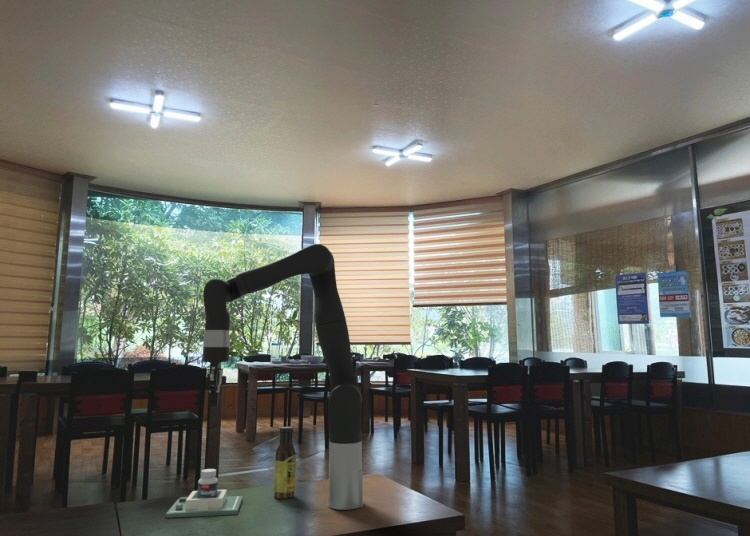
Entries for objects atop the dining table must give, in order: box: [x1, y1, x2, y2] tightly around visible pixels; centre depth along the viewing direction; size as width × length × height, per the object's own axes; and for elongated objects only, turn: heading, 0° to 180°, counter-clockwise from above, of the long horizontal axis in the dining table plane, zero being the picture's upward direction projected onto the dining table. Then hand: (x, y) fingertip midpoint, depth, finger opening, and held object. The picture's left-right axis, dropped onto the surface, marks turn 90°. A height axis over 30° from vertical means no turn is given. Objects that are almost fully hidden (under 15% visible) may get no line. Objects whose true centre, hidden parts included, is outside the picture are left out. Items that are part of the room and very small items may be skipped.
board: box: [165, 489, 244, 519], centre depth 140 cm, size 18×14×4 cm
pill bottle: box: [197, 468, 219, 498], centre depth 140 cm, size 5×5×9 cm
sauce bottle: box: [273, 426, 297, 500], centre depth 152 cm, size 6×6×20 cm
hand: (213, 405), depth 148 cm, fingers closed
